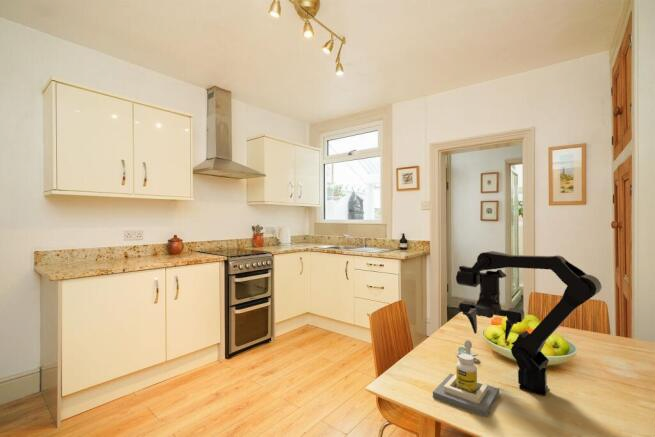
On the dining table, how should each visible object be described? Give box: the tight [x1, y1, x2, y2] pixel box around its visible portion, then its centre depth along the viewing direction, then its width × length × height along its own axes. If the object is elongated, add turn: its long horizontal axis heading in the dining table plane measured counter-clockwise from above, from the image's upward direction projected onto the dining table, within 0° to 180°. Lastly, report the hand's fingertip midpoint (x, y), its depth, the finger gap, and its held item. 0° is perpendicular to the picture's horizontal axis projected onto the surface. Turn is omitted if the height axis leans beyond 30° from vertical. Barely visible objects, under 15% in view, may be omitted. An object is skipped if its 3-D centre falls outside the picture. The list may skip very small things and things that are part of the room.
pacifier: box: [455, 339, 479, 358], centre depth 113 cm, size 7×6×6 cm
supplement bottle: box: [455, 354, 478, 394], centre depth 88 cm, size 5×5×10 cm
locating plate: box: [432, 372, 500, 418], centre depth 88 cm, size 14×14×3 cm
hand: (490, 336), depth 101 cm, fingers open, 9 cm apart
